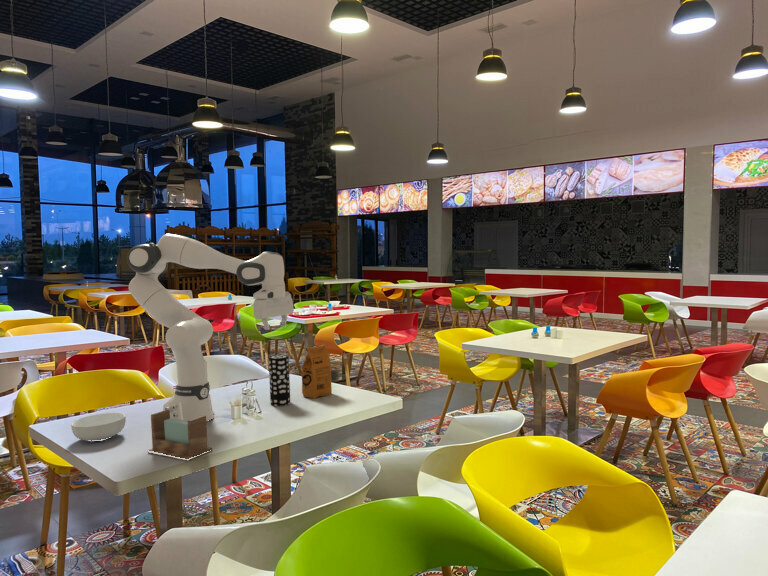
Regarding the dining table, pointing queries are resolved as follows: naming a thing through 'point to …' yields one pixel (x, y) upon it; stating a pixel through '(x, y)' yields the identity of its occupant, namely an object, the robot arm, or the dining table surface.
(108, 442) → the dining table surface
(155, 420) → the wooden u-shaped stand
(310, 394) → the coffee package
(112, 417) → the cereal bowl
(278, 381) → the spotted tube
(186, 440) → the door panel
